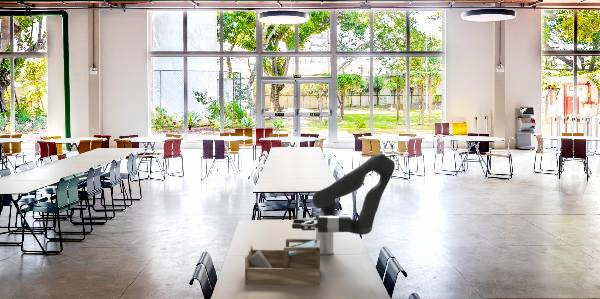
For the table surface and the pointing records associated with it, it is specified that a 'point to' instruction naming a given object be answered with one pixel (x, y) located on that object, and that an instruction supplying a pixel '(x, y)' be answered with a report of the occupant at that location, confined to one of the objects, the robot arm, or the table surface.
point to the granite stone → (260, 260)
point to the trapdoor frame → (286, 265)
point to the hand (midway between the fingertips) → (292, 223)
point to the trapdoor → (306, 244)
